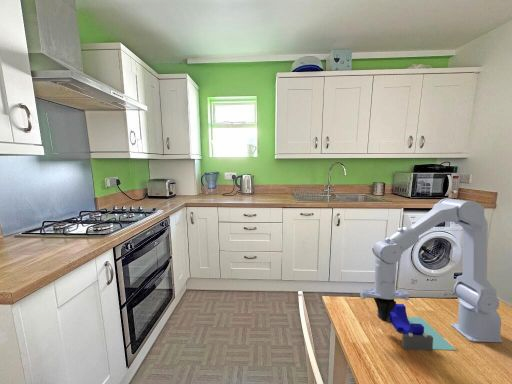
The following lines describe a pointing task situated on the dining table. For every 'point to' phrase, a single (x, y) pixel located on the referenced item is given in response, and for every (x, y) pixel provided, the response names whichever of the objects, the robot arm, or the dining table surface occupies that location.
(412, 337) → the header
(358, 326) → the dining table surface
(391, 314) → the blue bent block
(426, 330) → the mat
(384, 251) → the robot arm
